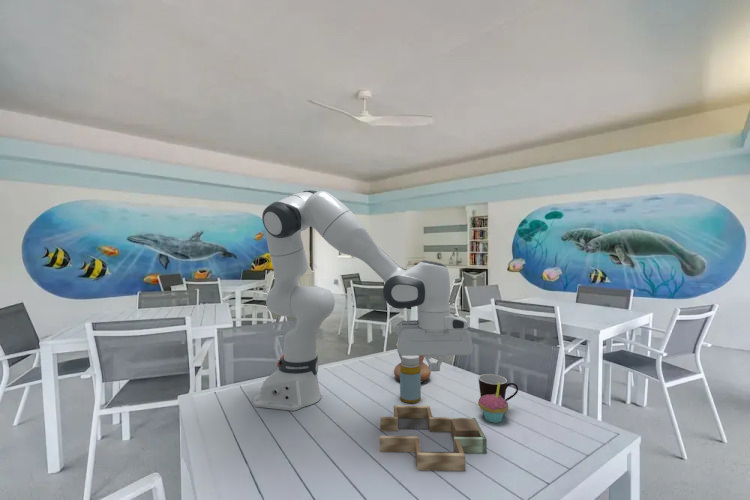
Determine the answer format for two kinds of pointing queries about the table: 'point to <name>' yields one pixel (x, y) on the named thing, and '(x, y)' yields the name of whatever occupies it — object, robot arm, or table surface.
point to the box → (424, 420)
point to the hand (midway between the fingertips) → (434, 370)
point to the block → (464, 428)
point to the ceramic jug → (423, 367)
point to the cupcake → (493, 406)
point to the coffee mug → (494, 385)
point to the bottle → (410, 379)
